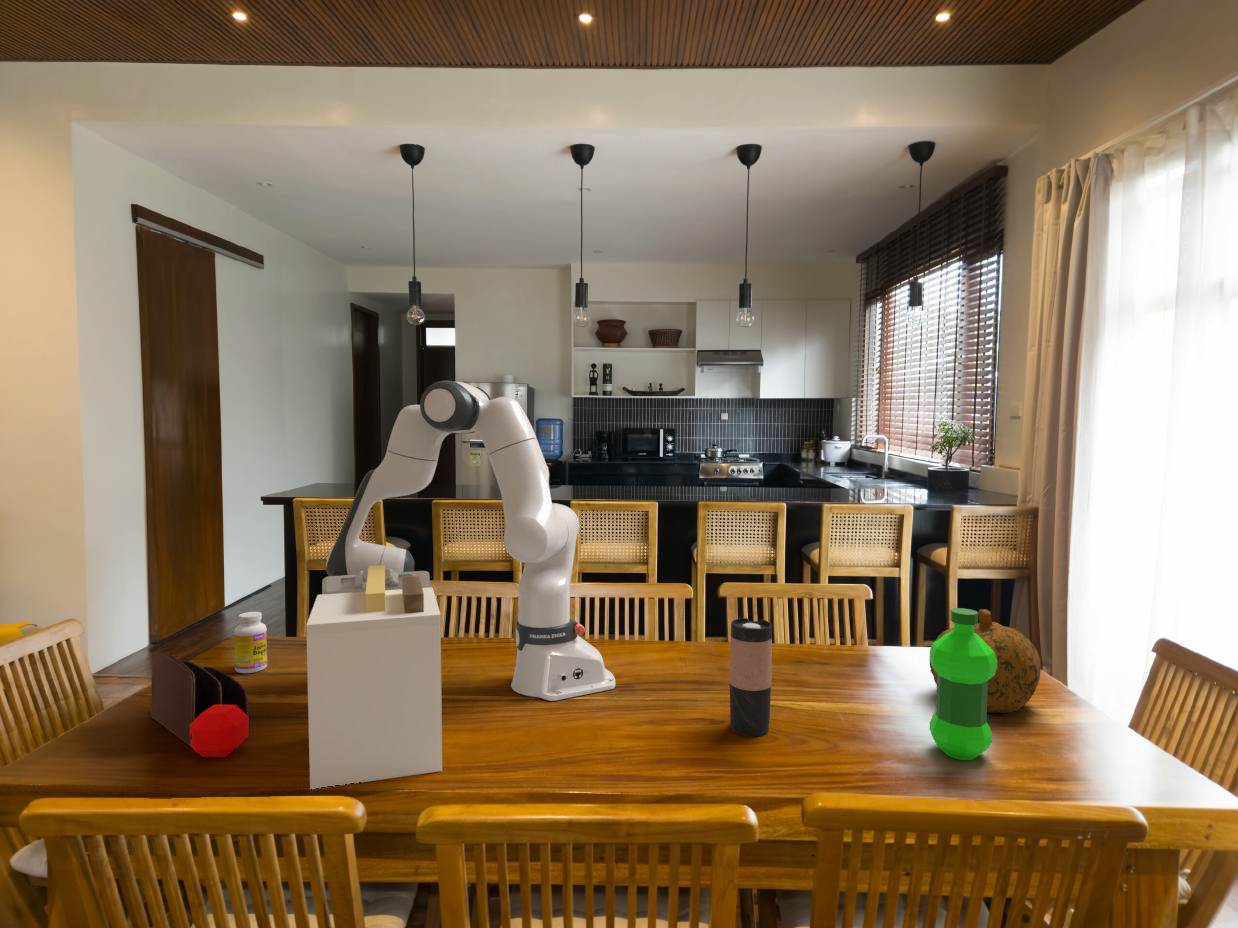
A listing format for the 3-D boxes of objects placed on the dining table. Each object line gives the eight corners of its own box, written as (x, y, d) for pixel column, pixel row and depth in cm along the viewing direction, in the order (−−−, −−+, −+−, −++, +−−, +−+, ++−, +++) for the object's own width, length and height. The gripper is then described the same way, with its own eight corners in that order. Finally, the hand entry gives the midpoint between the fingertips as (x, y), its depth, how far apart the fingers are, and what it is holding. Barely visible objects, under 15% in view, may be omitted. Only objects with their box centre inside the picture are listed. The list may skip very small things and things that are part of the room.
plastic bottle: (963, 772, 119) (969, 622, 117) (914, 745, 128) (918, 606, 127) (1006, 760, 123) (1012, 615, 121) (955, 735, 132) (960, 601, 131)
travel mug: (745, 740, 130) (747, 631, 129) (720, 724, 137) (722, 620, 136) (779, 732, 134) (781, 625, 132) (753, 717, 140) (754, 615, 139)
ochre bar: (385, 579, 142) (384, 564, 142) (385, 610, 119) (384, 592, 119) (368, 580, 141) (368, 565, 141) (365, 612, 118) (365, 594, 118)
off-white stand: (434, 722, 137) (432, 587, 136) (442, 770, 118) (440, 614, 117) (320, 735, 131) (317, 594, 130) (310, 789, 112) (306, 624, 111)
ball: (211, 741, 129) (209, 699, 129) (255, 742, 129) (254, 700, 128) (182, 762, 121) (181, 718, 121) (229, 763, 121) (228, 718, 120)
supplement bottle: (254, 675, 162) (252, 618, 161) (228, 673, 163) (226, 617, 163) (273, 665, 169) (272, 611, 168) (249, 663, 170) (247, 609, 169)
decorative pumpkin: (1054, 695, 150) (1051, 601, 148) (1026, 736, 134) (1023, 632, 132) (952, 675, 163) (948, 589, 161) (917, 710, 148) (912, 616, 146)
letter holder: (191, 749, 126) (189, 670, 125) (150, 718, 139) (148, 646, 138) (250, 730, 134) (248, 655, 133) (206, 703, 147) (204, 635, 146)
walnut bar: (419, 592, 132) (419, 576, 132) (423, 611, 118) (423, 593, 118) (402, 593, 131) (402, 577, 131) (404, 613, 118) (404, 595, 117)
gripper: (324, 583, 148) (318, 561, 136) (427, 577, 154) (430, 555, 143) (323, 614, 145) (317, 593, 134) (428, 606, 152) (431, 586, 140)
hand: (376, 573), depth 138 cm, fingers closed on ochre bar, 3 cm apart
